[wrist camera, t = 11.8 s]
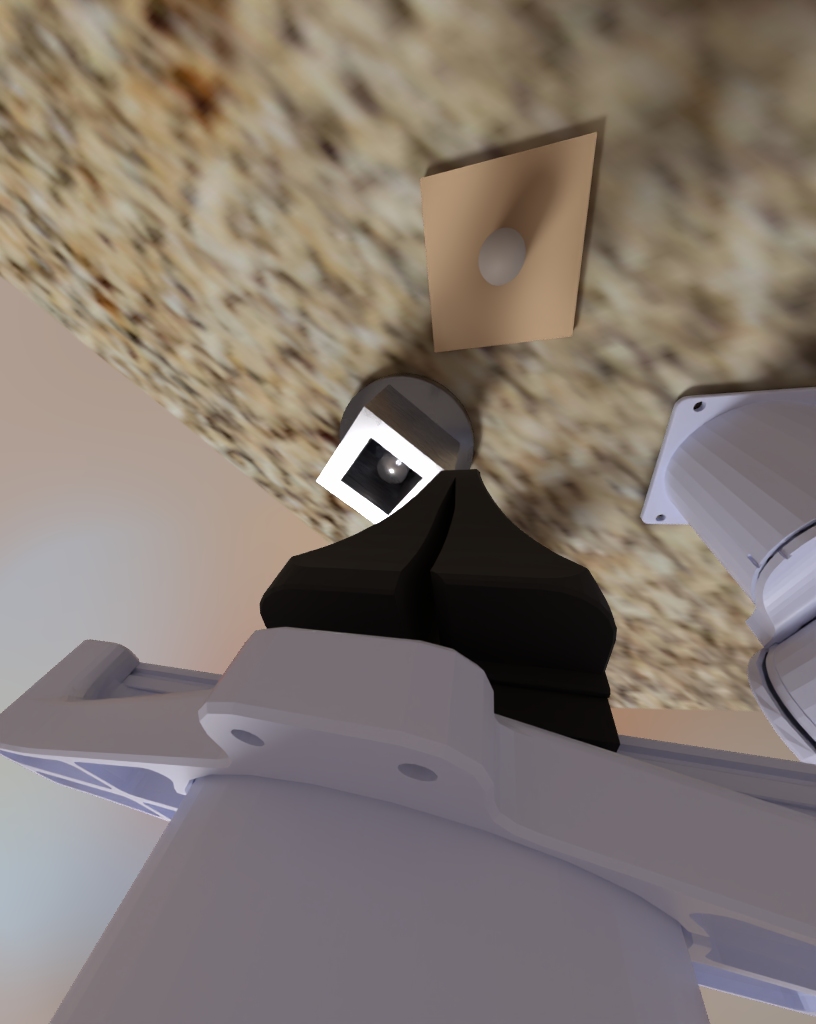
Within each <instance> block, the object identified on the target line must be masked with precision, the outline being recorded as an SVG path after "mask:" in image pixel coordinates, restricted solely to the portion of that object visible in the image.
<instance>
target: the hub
mask: <svg viewBox="0 0 816 1024" xmlns="http://www.w3.org/2000/svg"><path fill="white" fill-rule="evenodd" d="M389 384H390V385H391V386H392V387H393V388H394V389H396V390H397V391H398V392H399V393H400V394H402V395H403V396H404V397H405V398H406V399H408V400H409V401H410V402H411V403H412V404H414V405H415V406H416V407H417V408H419V409H420V410H421V411H422V412H423V413H425V414H426V415H427V416H428V417H429V418H431V419H432V420H433V421H434V422H435V423H437V424H438V425H439V426H440V427H441V428H443V429H444V430H445V431H446V432H447V433H449V434H450V435H451V436H452V437H454V438H455V439H456V440H457V441H458V442H460V443H461V444H460V448H459V452H458V457H457V461H456V465H455V469H454V470H468V469H470V466H471V463H472V457H473V451H474V434H473V429H472V424H471V421H470V419H469V416H468V414H467V412H466V410H465V409H464V407H463V405H462V404H461V403H460V401H459V400H458V399H457V398H456V397H455V396H454V395H453V394H452V393H451V392H450V391H449V390H448V389H446V388H445V387H444V386H443V385H441V384H439V383H437V382H436V381H434V380H431V379H429V378H426V377H423V376H419V375H414V374H394V375H388V376H385V377H382V378H379V379H377V380H376V381H374V382H372V383H370V384H369V385H368V386H366V387H365V388H363V389H362V390H361V391H359V392H358V393H357V394H356V395H355V396H354V397H353V399H352V400H351V401H350V403H349V404H348V406H347V408H346V410H345V412H344V414H343V417H342V420H341V425H340V435H339V437H340V443H341V442H342V440H343V438H344V437H345V435H346V434H347V432H348V431H349V429H350V428H351V426H352V425H353V423H354V421H355V420H356V418H357V417H358V415H359V414H360V412H361V411H362V409H363V407H364V406H365V405H366V404H367V403H369V402H370V401H371V400H372V399H373V398H374V397H375V396H376V395H378V394H379V393H380V392H381V391H382V390H383V389H384V388H385V387H386V386H388V385H389ZM366 449H367V450H368V451H370V452H371V453H372V454H373V455H375V456H376V457H377V458H379V459H380V461H379V462H378V465H377V470H378V473H379V475H380V477H381V478H382V479H383V480H385V481H386V482H388V483H392V484H396V483H400V482H402V481H403V480H404V479H406V478H407V477H408V476H409V475H410V474H411V473H412V471H413V470H412V469H411V468H410V467H408V466H407V465H406V464H405V463H403V462H402V461H401V460H399V459H398V458H397V457H396V456H394V455H393V454H392V453H390V452H389V451H388V450H387V449H385V448H384V447H383V446H381V445H380V444H379V443H378V442H376V441H375V440H374V439H373V440H372V441H371V443H370V444H369V445H368V447H367V448H366Z"/></svg>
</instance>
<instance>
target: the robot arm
mask: <svg viewBox="0 0 816 1024" xmlns="http://www.w3.org/2000/svg"><path fill="white" fill-rule="evenodd" d="M701 401H702V405H701V406H700V407H699V408H698V409H694V410H693V407H694V405H695V404H696V403H698V402H701ZM658 515H662V516H661V517H660V518H656V517H657V516H658ZM641 519H642V520H643V522H645V523H647V524H689V525H690V526H691V527H692V528H693V529H694V531H695V532H696V533H697V534H698V536H699V537H700V538H701V539H702V540H703V542H704V543H705V544H706V545H707V547H708V548H709V549H710V550H711V551H712V553H713V554H714V555H715V556H716V558H717V559H718V560H719V561H720V562H721V564H722V565H723V566H724V567H725V569H726V570H727V571H728V572H729V574H730V575H731V576H732V577H733V578H734V580H735V581H736V582H737V583H738V585H739V586H740V587H741V588H742V589H743V591H744V592H745V593H746V594H747V596H748V597H749V598H750V599H751V600H752V602H753V603H754V604H755V605H756V608H755V611H754V613H753V614H752V615H751V616H750V617H749V618H748V619H747V620H746V624H747V625H748V626H749V628H750V629H751V630H752V632H753V633H754V634H755V636H756V637H757V638H758V640H759V641H760V642H761V644H762V645H763V646H764V648H763V649H761V650H759V651H758V652H757V653H755V654H754V655H753V656H752V658H751V659H750V661H749V663H748V668H747V674H748V681H749V684H750V687H751V689H752V692H753V695H754V697H755V699H756V700H757V702H758V704H759V706H760V708H761V710H762V711H763V713H764V714H765V716H766V718H767V719H768V721H769V722H770V724H771V726H772V727H773V728H774V730H775V731H776V733H777V734H778V735H779V737H780V738H781V739H782V740H783V742H784V743H785V744H786V745H787V746H788V748H789V749H790V750H791V751H792V752H793V753H794V754H795V755H796V756H797V758H798V759H799V760H800V761H801V762H797V761H790V760H783V759H776V758H770V757H763V756H757V755H750V754H744V753H737V752H730V751H724V750H717V749H710V748H703V747H697V746H691V745H684V744H677V743H671V742H664V741H657V740H651V739H644V738H637V737H631V736H624V735H618V733H617V730H616V727H615V723H614V719H613V716H612V713H611V709H610V705H609V702H608V698H609V697H610V687H609V684H608V680H607V677H606V673H605V670H606V667H607V664H608V661H609V658H610V656H611V653H612V650H613V647H614V644H615V641H616V632H617V627H616V625H615V622H614V618H613V615H612V612H611V609H610V607H609V605H608V603H607V601H606V599H605V597H604V595H603V593H602V592H601V590H600V588H599V586H598V585H597V583H596V581H595V580H594V578H593V576H592V575H591V573H590V571H589V570H588V569H587V568H585V567H583V566H581V565H579V564H577V563H575V562H573V561H571V560H568V559H566V558H564V557H562V556H560V555H558V554H556V553H554V552H553V551H551V550H549V549H548V548H546V547H544V546H543V545H541V544H539V543H538V542H536V541H535V540H533V539H532V538H531V537H529V536H528V535H527V534H525V533H524V532H523V531H521V530H520V529H519V528H518V527H517V526H516V525H514V524H513V523H512V522H511V521H510V520H509V519H508V518H507V516H506V515H505V514H504V513H503V512H502V511H501V510H500V508H499V507H498V506H497V504H496V503H495V502H494V500H493V499H492V497H491V496H490V494H489V493H488V491H487V489H486V487H485V486H484V483H483V481H482V479H481V476H480V472H479V471H478V470H477V469H468V470H441V471H440V472H439V473H438V474H437V475H436V476H435V477H434V478H433V479H432V480H431V481H430V482H429V483H428V484H427V485H426V486H425V487H424V488H423V489H422V490H421V491H420V492H419V493H418V494H416V495H415V496H414V497H413V498H412V499H410V500H409V501H408V502H407V503H406V504H404V505H403V506H402V507H401V508H399V509H398V510H397V511H395V512H394V513H392V514H391V515H389V516H388V517H386V518H385V519H383V520H382V521H380V522H378V523H376V524H374V525H373V526H371V527H369V528H367V529H365V530H363V531H361V532H359V533H357V534H355V535H353V536H351V537H348V538H346V539H344V540H341V541H339V542H336V543H334V544H331V545H328V546H326V547H323V548H319V549H317V550H313V551H310V552H307V553H303V554H300V555H297V556H293V557H291V558H290V560H289V561H288V562H287V564H286V565H285V566H284V568H283V569H282V570H281V572H280V573H279V574H278V576H277V577H276V578H275V580H274V581H273V582H272V584H271V585H270V587H269V588H268V589H267V591H266V592H265V593H264V595H263V597H262V599H261V602H260V614H261V616H262V619H263V621H264V623H265V626H266V627H267V629H262V630H257V631H255V632H254V633H253V634H252V635H251V636H250V638H249V639H248V640H247V641H246V642H245V644H244V645H243V646H242V648H241V649H240V651H239V652H238V654H237V655H236V657H235V658H234V659H233V661H232V663H231V664H230V665H229V667H228V668H227V670H226V671H225V673H224V674H223V675H219V674H213V673H207V672H200V671H194V670H187V669H179V668H174V667H166V666H160V665H153V664H147V663H141V662H139V659H138V658H137V657H136V656H135V655H134V654H133V653H132V652H131V651H130V650H129V649H128V648H126V647H124V646H122V645H120V644H117V643H112V642H105V641H97V640H85V641H83V642H82V643H81V644H80V645H79V646H78V647H77V648H76V649H74V650H73V651H72V652H71V653H70V654H69V655H67V656H66V657H65V658H64V659H63V660H62V661H61V662H59V663H58V664H57V665H56V666H55V667H54V668H52V669H51V670H50V671H49V672H48V673H47V674H46V675H45V676H44V677H42V678H41V679H40V680H39V681H38V682H36V683H35V684H34V685H33V686H32V687H31V688H30V689H28V690H27V691H26V692H25V693H24V694H23V695H22V696H20V697H19V698H18V699H17V700H16V701H15V702H13V703H12V704H11V705H10V706H9V707H8V708H7V709H6V710H4V711H3V712H2V713H1V714H0V755H1V756H3V757H5V758H7V759H9V760H11V761H13V762H15V763H17V764H19V765H21V766H23V767H25V768H27V769H28V770H30V771H33V772H34V773H36V774H38V775H40V776H42V777H44V778H46V779H48V780H50V781H52V782H54V783H56V784H59V785H62V786H65V787H69V788H72V789H75V790H78V791H81V792H85V793H88V794H91V795H94V796H97V797H100V798H103V799H106V800H109V801H112V802H115V803H118V804H121V805H124V806H127V807H130V808H132V809H135V810H138V811H141V812H144V813H147V814H149V815H152V816H155V817H158V818H161V819H163V820H167V821H169V822H170V823H169V824H168V826H167V828H166V829H165V831H164V833H163V834H162V836H161V838H160V839H159V841H158V843H157V844H156V846H155V848H154V849H153V851H152V853H151V854H150V856H149V858H148V859H147V861H146V863H145V864H144V866H143V868H142V869H141V871H140V873H139V874H138V876H137V878H136V879H135V881H134V883H133V884H132V886H131V888H130V889H129V891H128V893H127V895H126V896H125V898H124V899H123V901H122V903H121V904H120V906H119V908H118V909H117V911H116V913H115V914H114V916H113V918H112V919H111V921H110V923H109V924H108V926H107V928H106V929H105V931H104V933H103V934H102V936H101V938H100V939H99V941H98V943H97V944H96V946H95V948H94V950H93V951H92V953H91V955H90V956H89V958H88V960H87V961H86V963H85V965H84V966H83V968H82V969H81V971H80V973H79V974H78V976H77V978H76V979H75V981H74V983H73V985H72V986H71V988H70V990H69V991H68V993H67V995H66V996H65V998H64V1000H63V1001H62V1003H61V1005H60V1006H59V1008H58V1010H57V1011H56V1013H55V1015H54V1017H53V1018H52V1020H51V1021H50V1023H49V1024H710V1022H709V1019H708V1015H707V1012H706V1009H705V1005H704V1002H703V999H702V995H701V992H700V989H699V986H702V987H706V988H710V989H714V990H718V991H721V992H725V993H729V994H733V995H736V996H740V997H744V998H748V999H751V1000H755V1001H759V1002H763V1003H766V1004H770V1005H774V1006H778V1007H782V1008H785V1009H789V1010H793V1011H796V1012H800V1013H804V1014H808V1015H812V1016H815V1017H816V387H806V388H792V389H778V390H763V391H749V392H735V393H721V394H706V395H692V396H685V397H682V398H680V399H679V400H678V401H677V402H676V403H675V405H674V407H673V410H672V414H671V417H670V420H669V424H668V427H667V430H666V433H665V437H664V440H663V443H662V446H661V450H660V453H659V456H658V460H657V463H656V466H655V469H654V473H653V476H652V479H651V483H650V486H649V489H648V492H647V496H646V499H645V502H644V505H643V509H642V512H641Z"/></svg>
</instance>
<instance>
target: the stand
mask: <svg viewBox="0 0 816 1024" xmlns="http://www.w3.org/2000/svg"><path fill="white" fill-rule="evenodd" d="M596 138H597V132H594V133H590V134H586V135H583V136H579V137H575V138H571V139H567V140H564V141H560V142H556V143H552V144H548V145H545V146H541V147H537V148H533V149H530V150H526V151H522V152H518V153H514V154H511V155H507V156H503V157H499V158H496V159H492V160H488V161H484V162H480V163H477V164H473V165H469V166H465V167H462V168H458V169H454V170H450V171H446V172H443V173H439V174H435V175H431V176H428V177H424V178H420V186H421V198H422V210H423V222H424V233H425V245H426V257H427V269H428V281H429V293H430V305H431V317H432V329H433V341H434V353H436V352H444V351H452V350H461V349H469V348H478V347H486V346H494V345H503V344H511V343H519V342H528V341H536V340H544V339H553V338H561V337H569V336H572V333H573V325H574V317H575V309H576V301H577V293H578V285H579V276H580V268H581V260H582V252H583V244H584V236H585V227H586V219H587V211H588V203H589V195H590V187H591V179H592V170H593V162H594V154H595V146H596Z"/></svg>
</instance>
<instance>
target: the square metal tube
mask: <svg viewBox="0 0 816 1024" xmlns="http://www.w3.org/2000/svg"><path fill="white" fill-rule="evenodd" d="M373 439H374V440H375V441H376V442H378V443H379V444H380V445H381V446H383V447H384V448H385V449H387V450H388V451H389V452H390V453H392V454H393V455H394V456H396V457H397V458H398V459H399V460H401V461H402V462H403V463H405V464H406V465H407V466H408V467H410V468H411V469H412V470H413V471H412V473H411V474H410V475H409V476H408V477H407V478H406V479H404V480H403V481H402V482H400V483H396V484H392V483H388V482H386V481H385V480H383V479H382V478H381V477H380V475H379V473H378V470H377V465H378V462H379V461H380V459H379V458H377V457H376V456H375V455H373V454H372V453H371V452H370V451H368V450H367V449H366V448H367V447H368V445H369V444H370V443H371V441H372V440H373ZM460 444H461V443H460V442H458V441H457V440H456V439H455V438H454V437H452V436H451V435H450V434H449V433H447V432H446V431H445V430H444V429H443V428H441V427H440V426H439V425H438V424H437V423H435V422H434V421H433V420H432V419H431V418H429V417H428V416H427V415H426V414H425V413H423V412H422V411H421V410H420V409H419V408H417V407H416V406H415V405H414V404H412V403H411V402H410V401H409V400H408V399H406V398H405V397H404V396H403V395H402V394H400V393H399V392H398V391H397V390H396V389H394V388H393V387H392V386H391V385H390V384H389V385H388V386H386V387H385V388H384V389H383V390H382V391H381V392H380V393H379V394H378V395H376V396H375V397H374V398H373V399H372V400H371V401H370V402H369V403H367V404H366V405H365V406H364V407H363V409H362V411H361V412H360V414H359V415H358V417H357V418H356V420H355V421H354V423H353V425H352V426H351V428H350V429H349V431H348V432H347V434H346V435H345V437H344V438H343V440H342V442H341V443H340V445H339V446H338V448H337V449H336V451H335V452H334V454H333V456H332V457H331V459H330V460H329V462H328V463H327V465H326V466H325V468H324V470H323V471H322V473H321V474H320V476H319V477H318V479H317V480H316V482H318V483H319V484H320V485H322V486H323V487H325V488H326V489H327V490H329V491H330V492H332V493H333V494H334V495H336V496H337V497H338V498H340V499H341V500H343V501H344V502H345V503H347V504H348V505H350V506H351V507H352V508H354V509H355V510H357V511H358V512H359V513H361V514H362V515H364V516H365V517H366V518H368V519H369V520H371V521H372V522H373V523H375V524H376V523H378V522H380V521H382V520H383V519H385V518H386V517H388V516H389V515H391V514H392V513H394V512H395V511H397V510H398V509H399V508H401V507H402V506H403V505H404V504H406V503H407V502H408V501H409V500H410V499H412V498H413V497H414V496H415V495H416V494H418V493H419V492H420V491H421V490H422V489H423V488H424V487H425V486H426V485H427V484H428V483H429V482H430V481H431V480H432V479H433V478H434V477H435V476H436V475H437V474H438V473H439V472H440V471H441V470H454V469H455V465H456V461H457V457H458V452H459V448H460Z"/></svg>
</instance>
